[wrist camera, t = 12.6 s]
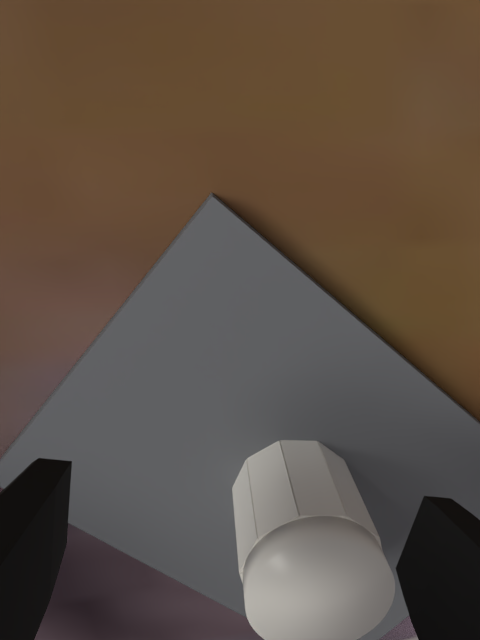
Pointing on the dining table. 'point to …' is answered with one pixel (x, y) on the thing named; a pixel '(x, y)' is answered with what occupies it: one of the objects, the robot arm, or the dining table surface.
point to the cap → (307, 546)
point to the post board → (239, 409)
